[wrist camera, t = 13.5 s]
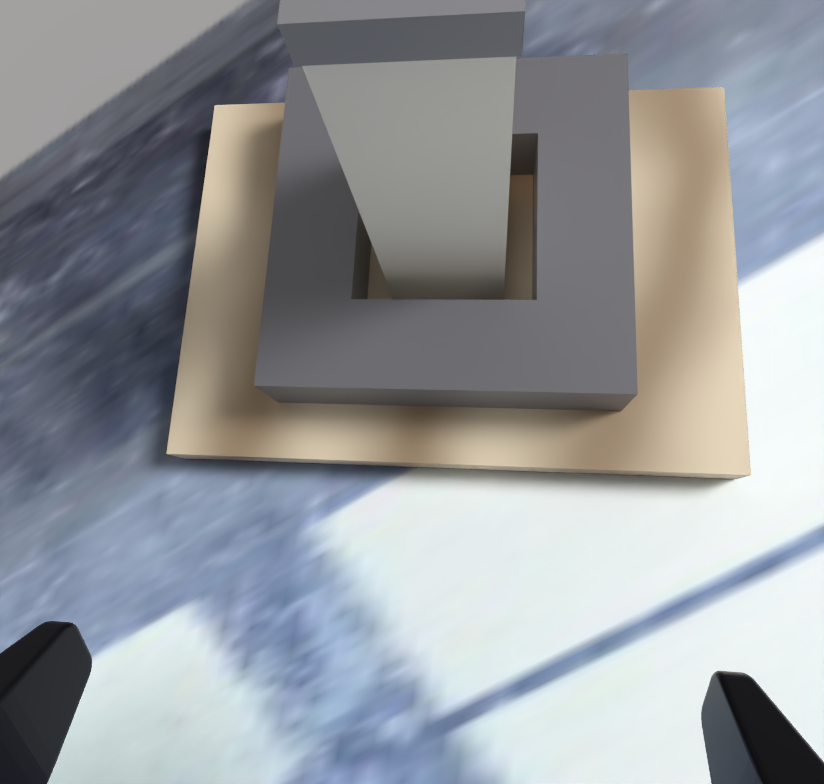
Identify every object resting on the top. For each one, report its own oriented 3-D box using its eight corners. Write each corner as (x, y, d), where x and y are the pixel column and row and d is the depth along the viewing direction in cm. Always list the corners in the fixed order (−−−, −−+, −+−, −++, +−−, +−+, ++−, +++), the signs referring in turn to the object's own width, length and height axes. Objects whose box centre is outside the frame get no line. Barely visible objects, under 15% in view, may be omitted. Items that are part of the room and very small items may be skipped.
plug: (390, 302, 24) (277, 24, 11) (398, 177, 25) (303, -202, 12) (506, 302, 23) (524, 11, 11) (508, 175, 24) (528, -224, 12)
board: (181, 457, 24) (166, 453, 23) (226, 123, 28) (214, 105, 27) (737, 478, 22) (751, 475, 21) (713, 108, 25) (724, 86, 24)
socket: (278, 402, 23) (253, 385, 21) (307, 112, 26) (288, 68, 24) (621, 411, 22) (637, 394, 19) (613, 102, 24) (627, 53, 22)
